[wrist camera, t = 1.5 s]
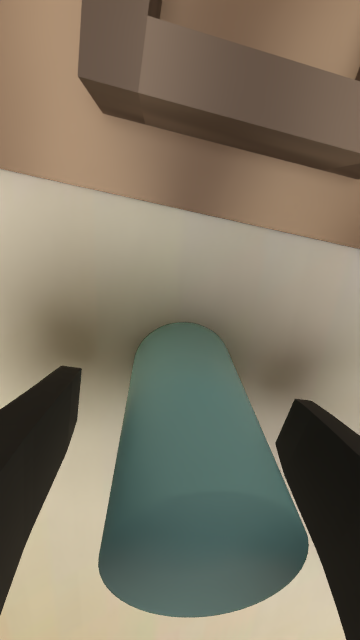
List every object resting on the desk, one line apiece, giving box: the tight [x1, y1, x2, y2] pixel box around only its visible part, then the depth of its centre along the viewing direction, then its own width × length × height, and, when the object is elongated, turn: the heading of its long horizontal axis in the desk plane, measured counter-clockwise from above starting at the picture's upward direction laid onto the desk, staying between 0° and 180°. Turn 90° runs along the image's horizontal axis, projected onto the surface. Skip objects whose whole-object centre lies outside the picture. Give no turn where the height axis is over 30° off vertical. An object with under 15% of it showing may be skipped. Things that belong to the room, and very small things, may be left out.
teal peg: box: [98, 322, 309, 617], centre depth 9 cm, size 4×4×7 cm
